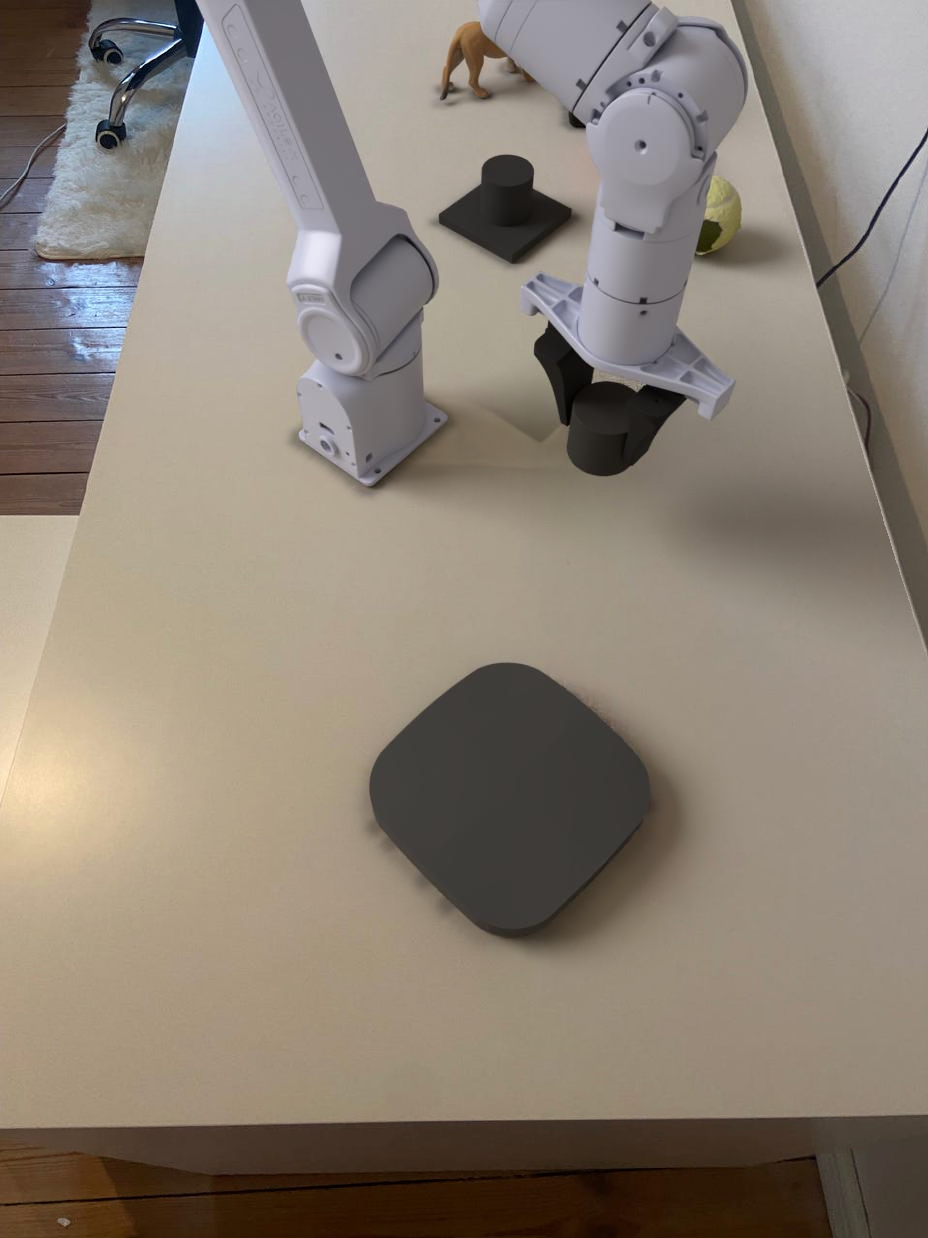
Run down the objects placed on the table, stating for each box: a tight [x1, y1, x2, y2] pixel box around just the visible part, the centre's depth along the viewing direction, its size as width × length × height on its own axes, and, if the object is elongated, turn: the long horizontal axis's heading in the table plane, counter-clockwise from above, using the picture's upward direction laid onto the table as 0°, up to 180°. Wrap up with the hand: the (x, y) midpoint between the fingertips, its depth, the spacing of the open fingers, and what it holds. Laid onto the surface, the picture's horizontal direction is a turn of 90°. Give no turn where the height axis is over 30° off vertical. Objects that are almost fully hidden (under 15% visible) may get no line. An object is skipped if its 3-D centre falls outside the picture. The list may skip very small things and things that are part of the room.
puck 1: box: [480, 153, 535, 227], centre depth 89 cm, size 5×5×4 cm
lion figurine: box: [439, 20, 535, 101], centre depth 100 cm, size 15×5×9 cm, turn 129°
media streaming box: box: [368, 661, 652, 938], centre depth 60 cm, size 15×15×3 cm
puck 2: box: [566, 380, 638, 477], centre depth 65 cm, size 5×5×4 cm
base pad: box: [438, 183, 573, 264], centre depth 92 cm, size 9×9×1 cm
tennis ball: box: [695, 174, 743, 256], centre depth 87 cm, size 6×7×7 cm
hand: (604, 436), depth 66 cm, fingers closed on puck 2, 5 cm apart
